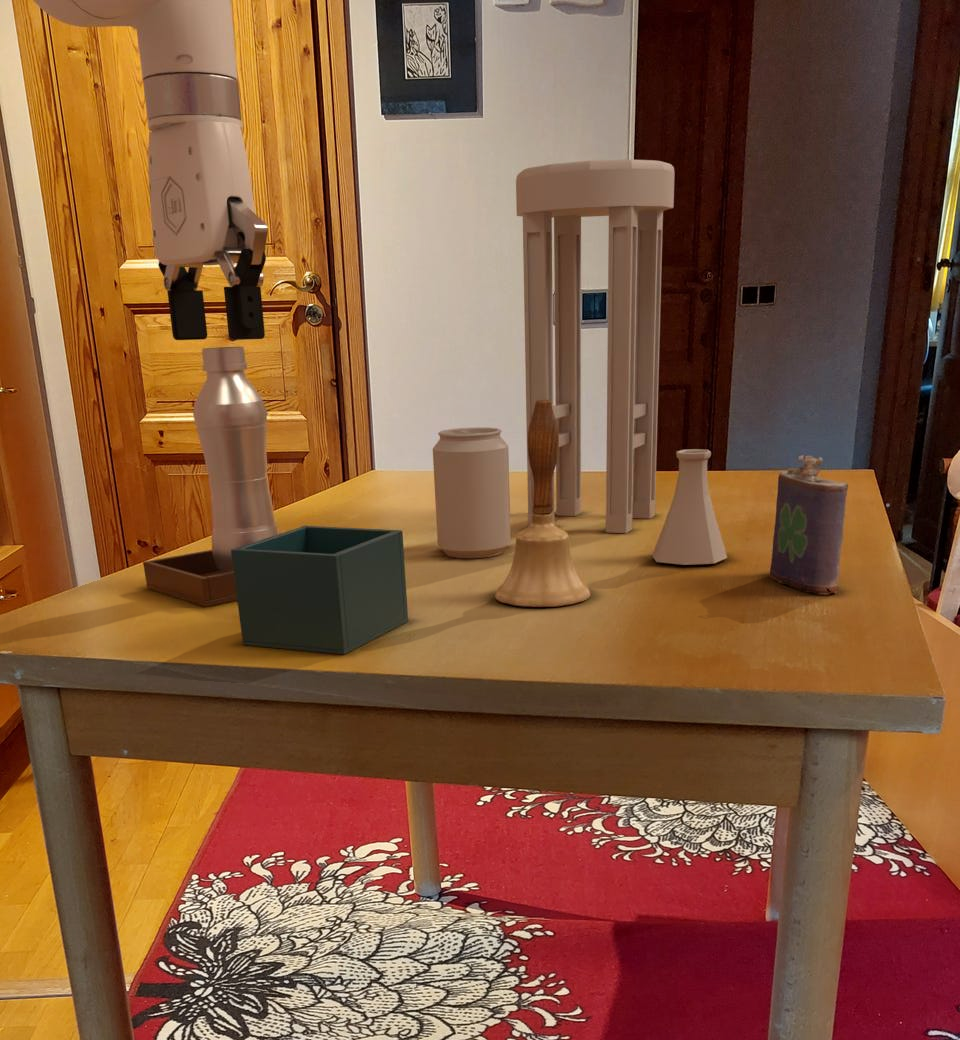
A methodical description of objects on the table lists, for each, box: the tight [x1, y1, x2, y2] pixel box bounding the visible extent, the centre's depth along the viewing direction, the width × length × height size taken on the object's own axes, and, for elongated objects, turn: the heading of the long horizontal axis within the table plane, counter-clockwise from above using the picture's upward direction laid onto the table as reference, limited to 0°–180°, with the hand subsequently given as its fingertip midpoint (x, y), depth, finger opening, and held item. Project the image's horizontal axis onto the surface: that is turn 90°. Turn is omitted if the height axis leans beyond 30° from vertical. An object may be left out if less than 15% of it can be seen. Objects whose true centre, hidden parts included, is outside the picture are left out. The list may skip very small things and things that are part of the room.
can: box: [432, 427, 512, 559], centre depth 117 cm, size 8×8×12 cm
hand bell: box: [494, 400, 591, 608], centre depth 98 cm, size 8×8×16 cm
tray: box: [142, 549, 237, 608], centre depth 111 cm, size 16×11×2 cm
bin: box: [231, 525, 409, 655], centre depth 92 cm, size 10×9×7 cm
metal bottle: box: [192, 346, 281, 573], centre depth 107 cm, size 6×7×20 cm
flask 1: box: [651, 448, 728, 566], centre depth 111 cm, size 7×7×10 cm
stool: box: [515, 158, 676, 534], centre depth 126 cm, size 16×16×35 cm
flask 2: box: [769, 455, 849, 596], centre depth 100 cm, size 9×3×11 cm, turn 16°
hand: (218, 339), depth 102 cm, fingers open, 9 cm apart
